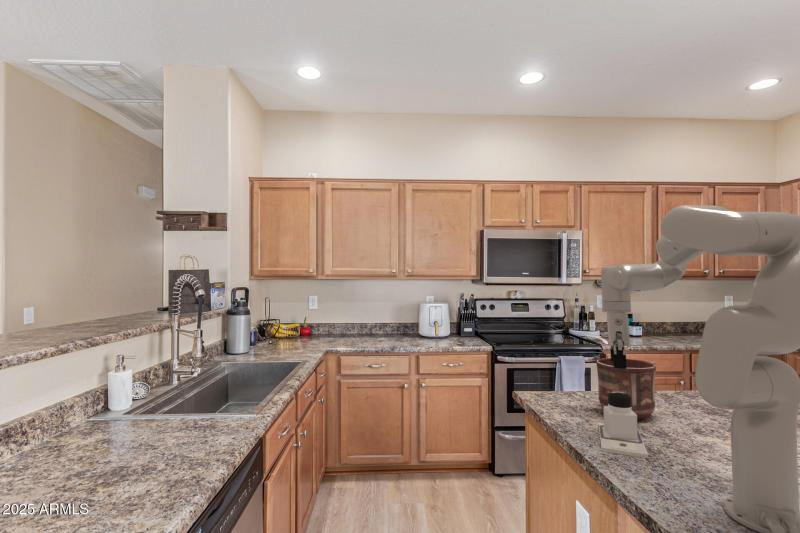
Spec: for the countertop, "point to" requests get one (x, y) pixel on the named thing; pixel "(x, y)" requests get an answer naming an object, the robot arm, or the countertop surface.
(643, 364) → the pottery
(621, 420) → the medicine bottle
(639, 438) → the board
